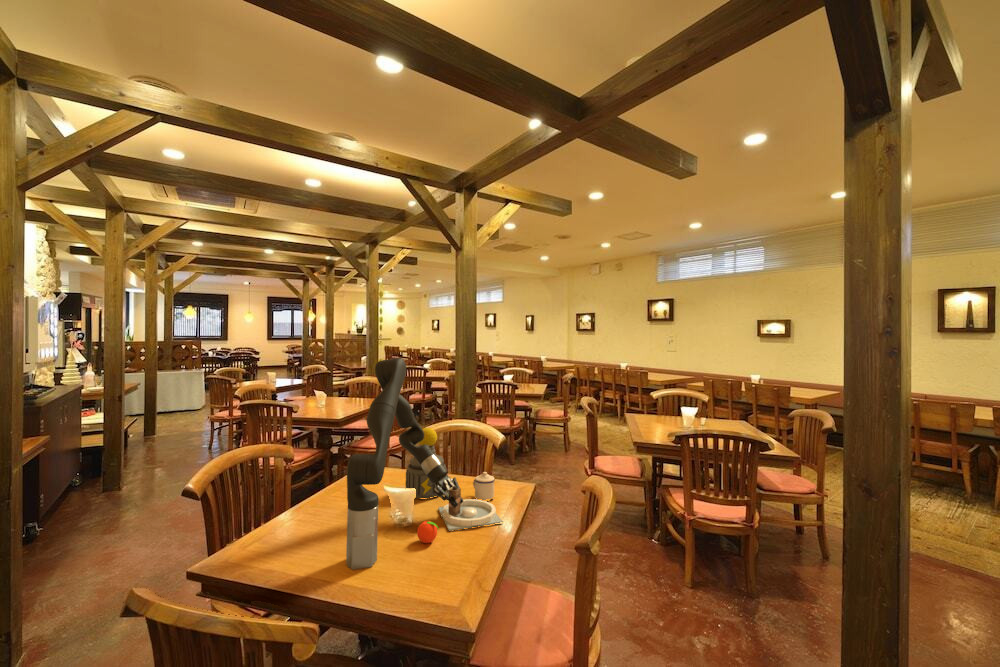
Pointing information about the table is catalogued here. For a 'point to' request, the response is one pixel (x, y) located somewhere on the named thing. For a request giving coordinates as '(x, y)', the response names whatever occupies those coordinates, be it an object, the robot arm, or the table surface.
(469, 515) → the groove dish
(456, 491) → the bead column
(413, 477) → the decorative lamp
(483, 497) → the teacup with lid
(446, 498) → the robot arm
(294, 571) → the table surface
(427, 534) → the clementine
